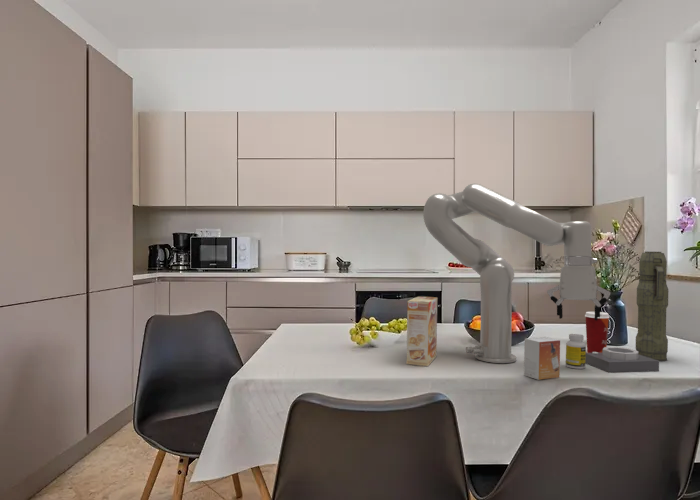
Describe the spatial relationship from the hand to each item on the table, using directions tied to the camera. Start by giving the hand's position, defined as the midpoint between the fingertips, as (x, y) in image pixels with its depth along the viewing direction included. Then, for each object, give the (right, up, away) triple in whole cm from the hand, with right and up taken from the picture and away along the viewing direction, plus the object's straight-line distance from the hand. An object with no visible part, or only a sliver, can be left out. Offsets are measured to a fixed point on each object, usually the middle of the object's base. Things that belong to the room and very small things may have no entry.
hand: (578, 318), depth 146 cm
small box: (-15, -15, -11) cm, 24 cm away
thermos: (+30, -15, +13) cm, 36 cm away
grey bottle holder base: (+13, -15, +1) cm, 20 cm away
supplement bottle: (-1, -15, 0) cm, 15 cm away
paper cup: (+15, -15, +19) cm, 28 cm away
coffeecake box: (-46, -14, +7) cm, 49 cm away
